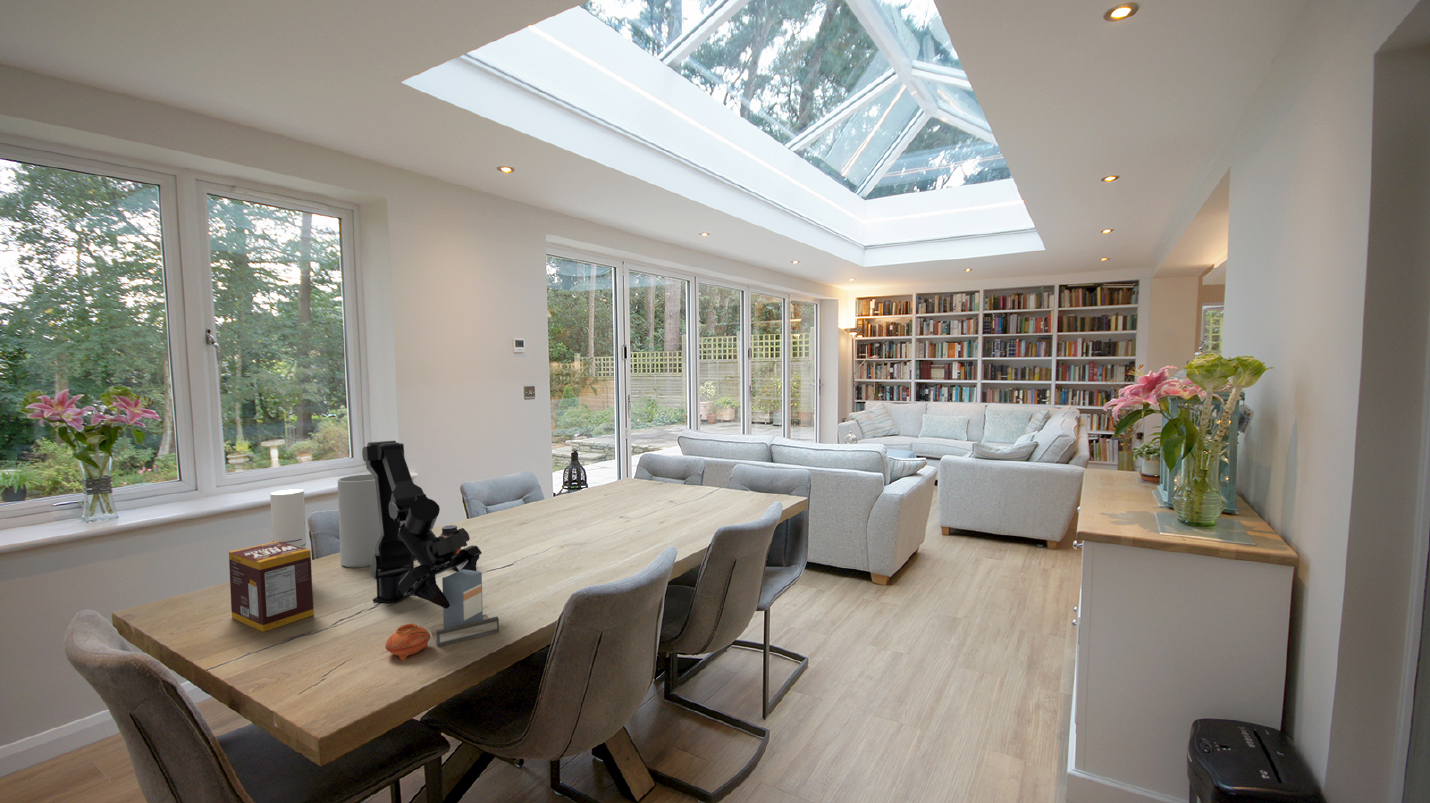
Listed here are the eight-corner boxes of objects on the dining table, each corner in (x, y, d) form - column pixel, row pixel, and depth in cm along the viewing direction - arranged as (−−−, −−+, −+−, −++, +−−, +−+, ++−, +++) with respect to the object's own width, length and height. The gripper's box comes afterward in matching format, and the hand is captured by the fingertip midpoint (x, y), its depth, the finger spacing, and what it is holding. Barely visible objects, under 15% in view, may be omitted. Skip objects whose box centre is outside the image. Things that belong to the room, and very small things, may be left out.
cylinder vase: (374, 568, 171) (371, 481, 170) (330, 568, 171) (327, 481, 170) (397, 554, 184) (395, 474, 182) (357, 554, 184) (354, 474, 182)
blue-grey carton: (443, 633, 126) (442, 578, 126) (464, 622, 132) (463, 569, 131) (463, 637, 125) (462, 581, 124) (483, 625, 130) (482, 571, 130)
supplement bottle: (452, 569, 170) (451, 529, 170) (434, 567, 172) (433, 528, 171) (465, 562, 176) (464, 524, 176) (447, 561, 177) (446, 523, 177)
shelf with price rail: (428, 631, 130) (428, 613, 130) (486, 618, 137) (485, 601, 136) (438, 651, 121) (437, 632, 120) (499, 636, 127) (498, 618, 127)
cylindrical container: (268, 588, 155) (263, 493, 154) (296, 579, 162) (292, 488, 161) (286, 592, 153) (282, 495, 151) (314, 583, 159) (310, 490, 158)
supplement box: (281, 602, 146) (278, 539, 146) (314, 615, 139) (311, 549, 138) (230, 617, 137) (227, 551, 137) (262, 632, 130) (259, 561, 129)
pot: (429, 661, 116) (419, 630, 115) (386, 675, 114) (376, 643, 113) (438, 642, 124) (429, 612, 123) (399, 654, 122) (389, 624, 121)
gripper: (407, 530, 120) (452, 591, 117) (474, 510, 137) (514, 562, 134) (379, 565, 123) (422, 625, 120) (448, 540, 140) (487, 592, 137)
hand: (464, 599), depth 128 cm, fingers open, 9 cm apart
